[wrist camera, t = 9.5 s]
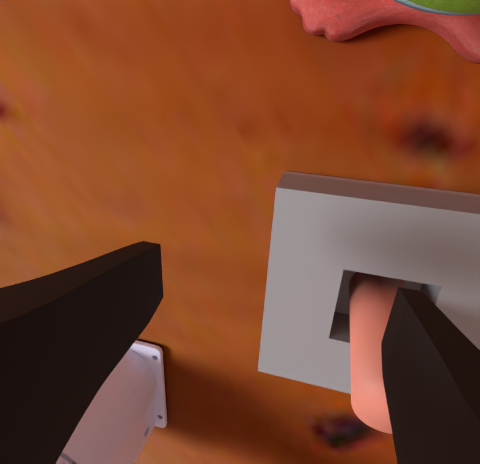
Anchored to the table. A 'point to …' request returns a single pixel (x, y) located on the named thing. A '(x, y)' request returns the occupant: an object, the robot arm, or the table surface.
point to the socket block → (360, 265)
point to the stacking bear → (395, 19)
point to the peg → (370, 345)
